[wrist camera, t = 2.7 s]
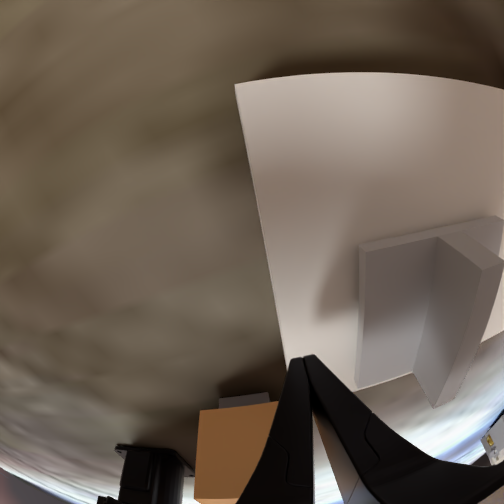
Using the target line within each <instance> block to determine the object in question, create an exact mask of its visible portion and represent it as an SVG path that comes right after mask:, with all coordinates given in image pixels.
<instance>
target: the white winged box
mask: <svg viewBox="0 0 504 504" xmlns="http://www.w3.org/2000/svg"><path fill="white" fill-rule="evenodd" d="M481 442H482V444H483V446H484V448H485V451H486V453H487V455H488V457H489V459H490V462H491V464H492V465H493V464H494V463H495V464H494V465H496V464H498V463H500V462H502V461H503V460H504V415H503V416H501V418H500V419H499V420H498V421H497V422H496V423H495V424H494V426H493V427H492V428H491V429H490V430H489V431H488V432H487V433H486V434H485V435H484V437H483V438H482V439H481Z"/></svg>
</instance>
